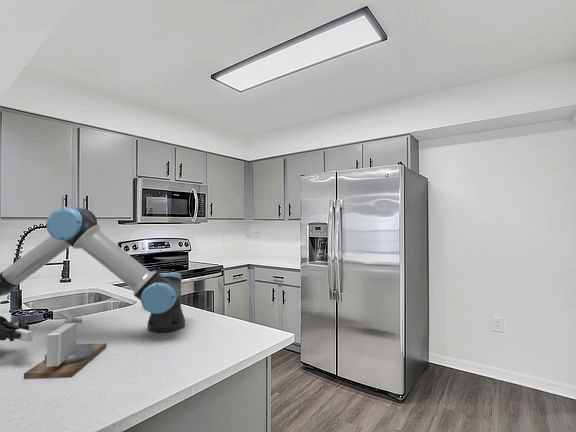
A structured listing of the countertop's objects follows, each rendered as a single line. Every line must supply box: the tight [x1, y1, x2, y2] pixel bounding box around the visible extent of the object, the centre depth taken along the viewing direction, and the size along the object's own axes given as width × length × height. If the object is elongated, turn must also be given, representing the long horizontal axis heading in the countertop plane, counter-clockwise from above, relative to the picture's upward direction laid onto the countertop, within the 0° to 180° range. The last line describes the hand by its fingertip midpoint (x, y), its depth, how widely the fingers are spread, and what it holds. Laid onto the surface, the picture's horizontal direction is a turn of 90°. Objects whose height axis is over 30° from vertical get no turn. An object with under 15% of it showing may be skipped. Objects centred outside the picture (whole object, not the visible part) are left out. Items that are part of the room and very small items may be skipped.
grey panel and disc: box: [44, 322, 93, 367], centre depth 104 cm, size 17×13×11 cm
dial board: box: [23, 343, 107, 380], centre depth 105 cm, size 13×22×2 cm, turn 5°
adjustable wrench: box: [57, 310, 83, 324], centre depth 151 cm, size 25×6×2 cm, turn 42°
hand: (29, 336), depth 102 cm, fingers closed
